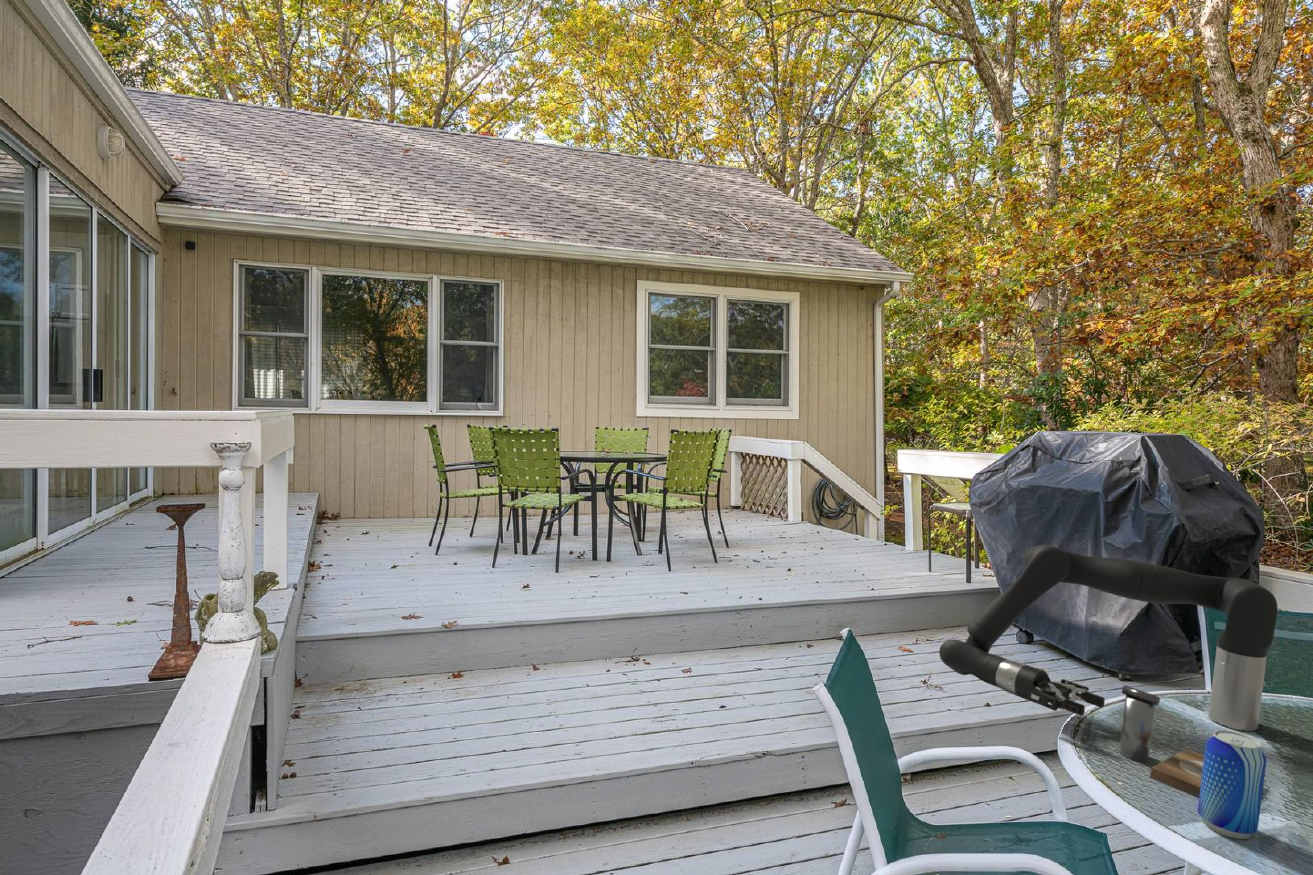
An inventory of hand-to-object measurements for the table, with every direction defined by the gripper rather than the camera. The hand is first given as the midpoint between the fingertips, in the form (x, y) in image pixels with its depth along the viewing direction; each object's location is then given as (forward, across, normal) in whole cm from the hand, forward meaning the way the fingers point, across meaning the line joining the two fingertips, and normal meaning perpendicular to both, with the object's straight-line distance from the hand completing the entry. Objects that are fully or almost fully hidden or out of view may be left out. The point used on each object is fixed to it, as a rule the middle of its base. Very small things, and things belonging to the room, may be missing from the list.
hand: (1093, 706), depth 166 cm
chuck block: (+21, +1, +7) cm, 22 cm away
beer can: (+30, -14, +7) cm, 34 cm away
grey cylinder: (+9, 0, +7) cm, 11 cm away
